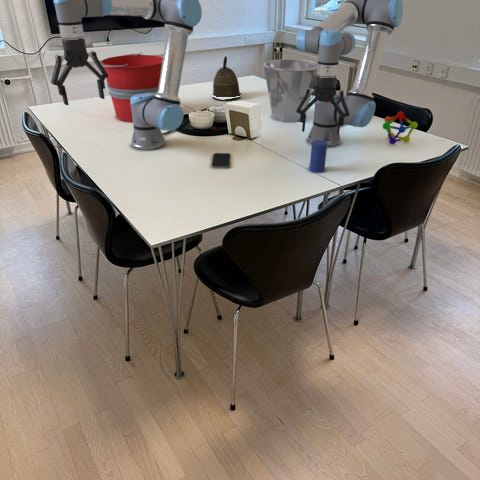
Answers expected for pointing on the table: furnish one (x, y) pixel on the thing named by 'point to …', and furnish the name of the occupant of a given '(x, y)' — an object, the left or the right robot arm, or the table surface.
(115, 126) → the table surface
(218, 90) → the bell
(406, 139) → the educational toy
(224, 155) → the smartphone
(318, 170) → the can
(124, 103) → the bucket
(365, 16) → the right robot arm
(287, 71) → the bucket
